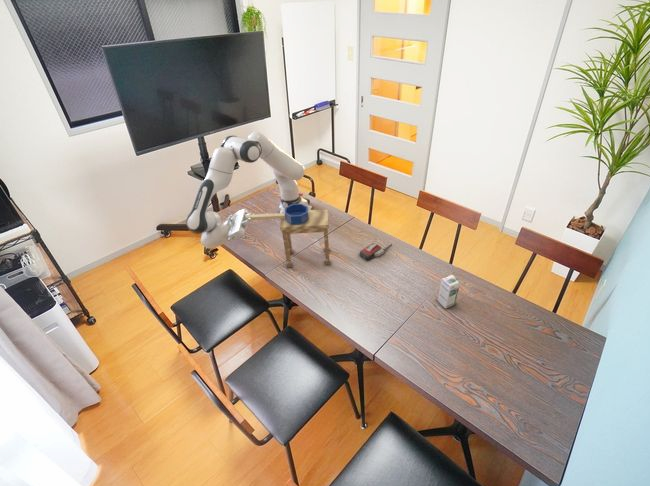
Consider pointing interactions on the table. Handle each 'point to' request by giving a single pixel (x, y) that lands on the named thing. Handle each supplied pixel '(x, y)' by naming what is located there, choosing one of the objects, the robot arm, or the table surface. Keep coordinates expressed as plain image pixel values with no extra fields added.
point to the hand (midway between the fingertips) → (252, 216)
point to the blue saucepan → (287, 214)
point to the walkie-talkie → (372, 251)
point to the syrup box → (448, 291)
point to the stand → (306, 231)
